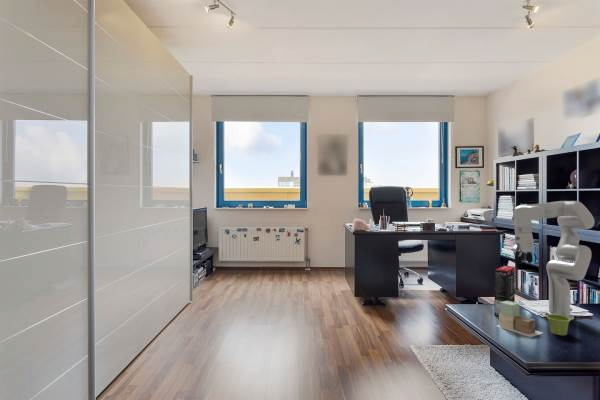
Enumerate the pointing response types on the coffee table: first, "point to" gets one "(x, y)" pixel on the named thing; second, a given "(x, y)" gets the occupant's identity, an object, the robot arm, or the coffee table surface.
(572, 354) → the coffee table surface
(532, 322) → the walnut cube
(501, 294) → the graphics card box
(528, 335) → the board
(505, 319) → the maple base
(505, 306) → the sage block
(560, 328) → the plant pot
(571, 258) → the robot arm
